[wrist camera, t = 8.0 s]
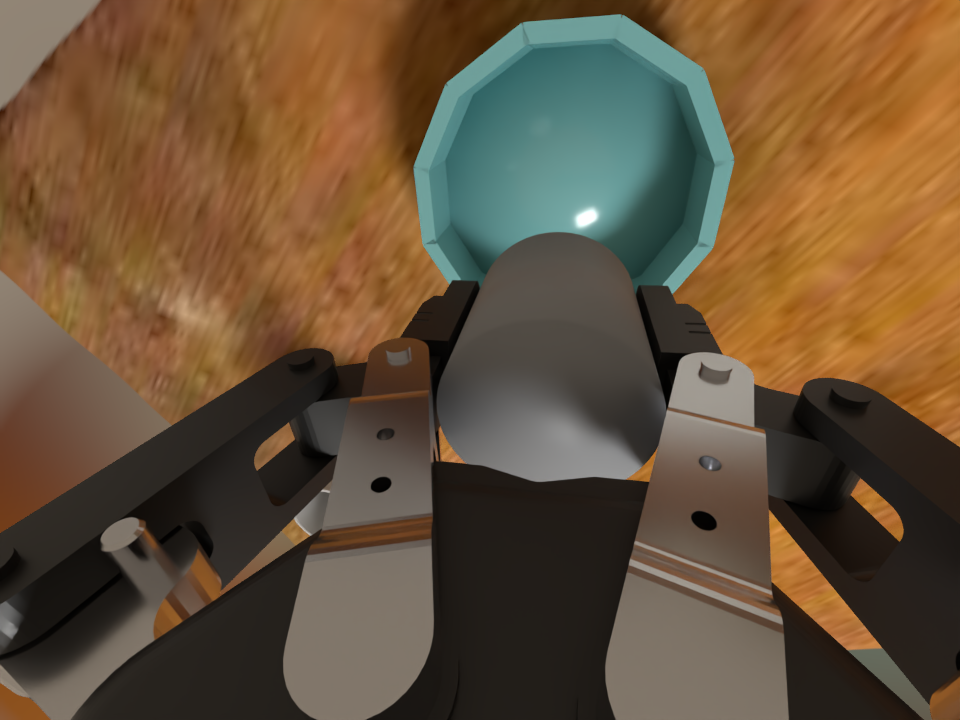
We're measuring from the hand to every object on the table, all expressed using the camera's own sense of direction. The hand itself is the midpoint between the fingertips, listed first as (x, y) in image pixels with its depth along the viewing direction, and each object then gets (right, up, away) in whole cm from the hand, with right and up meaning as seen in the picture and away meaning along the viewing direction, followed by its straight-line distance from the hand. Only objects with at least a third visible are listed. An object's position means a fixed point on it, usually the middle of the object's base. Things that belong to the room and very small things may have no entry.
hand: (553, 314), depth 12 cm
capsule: (0, 0, 0) cm, 0 cm away
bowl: (+3, +9, +14) cm, 17 cm away
